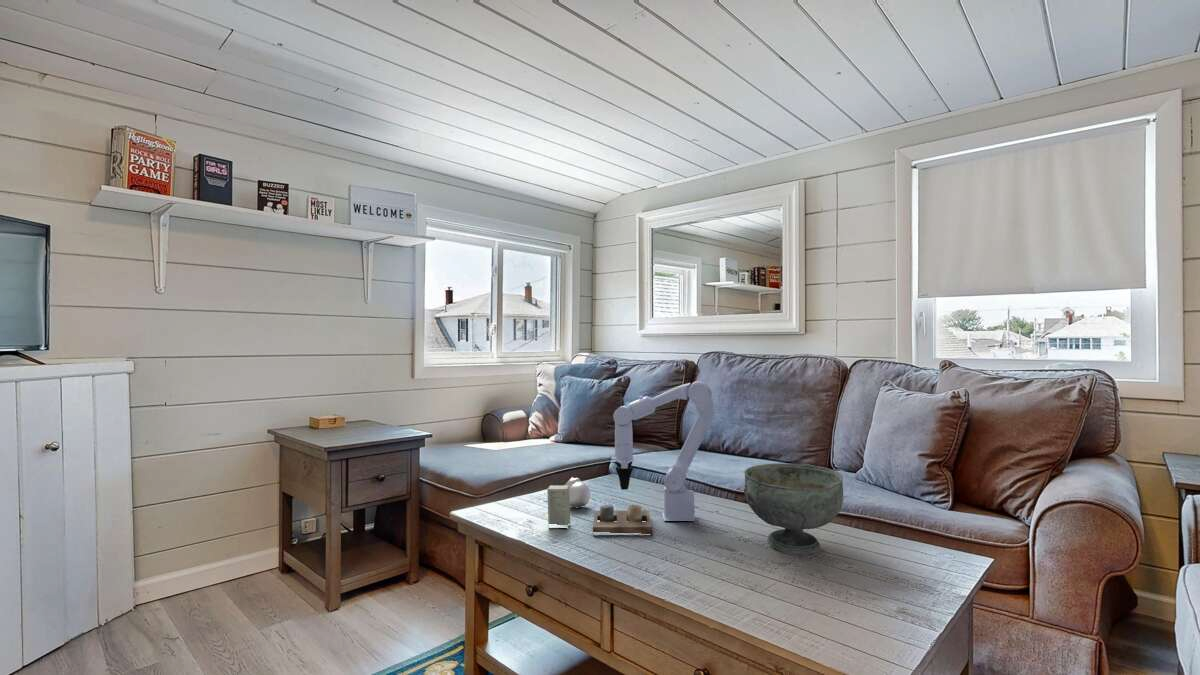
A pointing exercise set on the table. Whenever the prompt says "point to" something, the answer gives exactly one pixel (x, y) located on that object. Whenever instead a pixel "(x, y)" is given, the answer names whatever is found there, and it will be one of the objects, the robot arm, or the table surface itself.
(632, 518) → the birch peg
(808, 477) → the decorative bowl
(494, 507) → the table surface
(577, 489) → the ghost figurine
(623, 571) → the table surface
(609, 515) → the pocket board
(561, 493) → the skincare box
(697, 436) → the robot arm
